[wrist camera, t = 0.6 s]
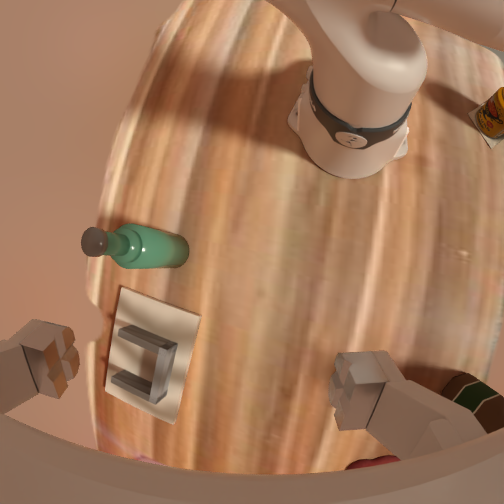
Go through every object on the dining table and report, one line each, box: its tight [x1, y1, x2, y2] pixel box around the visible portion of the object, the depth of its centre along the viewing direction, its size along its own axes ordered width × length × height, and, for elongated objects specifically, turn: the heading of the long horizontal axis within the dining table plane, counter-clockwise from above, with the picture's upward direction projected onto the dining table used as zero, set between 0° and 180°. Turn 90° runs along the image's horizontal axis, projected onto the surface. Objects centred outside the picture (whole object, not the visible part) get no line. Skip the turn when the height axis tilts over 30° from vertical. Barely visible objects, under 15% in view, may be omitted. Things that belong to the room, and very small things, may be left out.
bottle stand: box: [105, 287, 202, 425], centre depth 44 cm, size 20×14×5 cm
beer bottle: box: [442, 373, 504, 434], centre depth 26 cm, size 8×8×24 cm
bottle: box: [81, 224, 189, 269], centre depth 36 cm, size 5×5×20 cm
